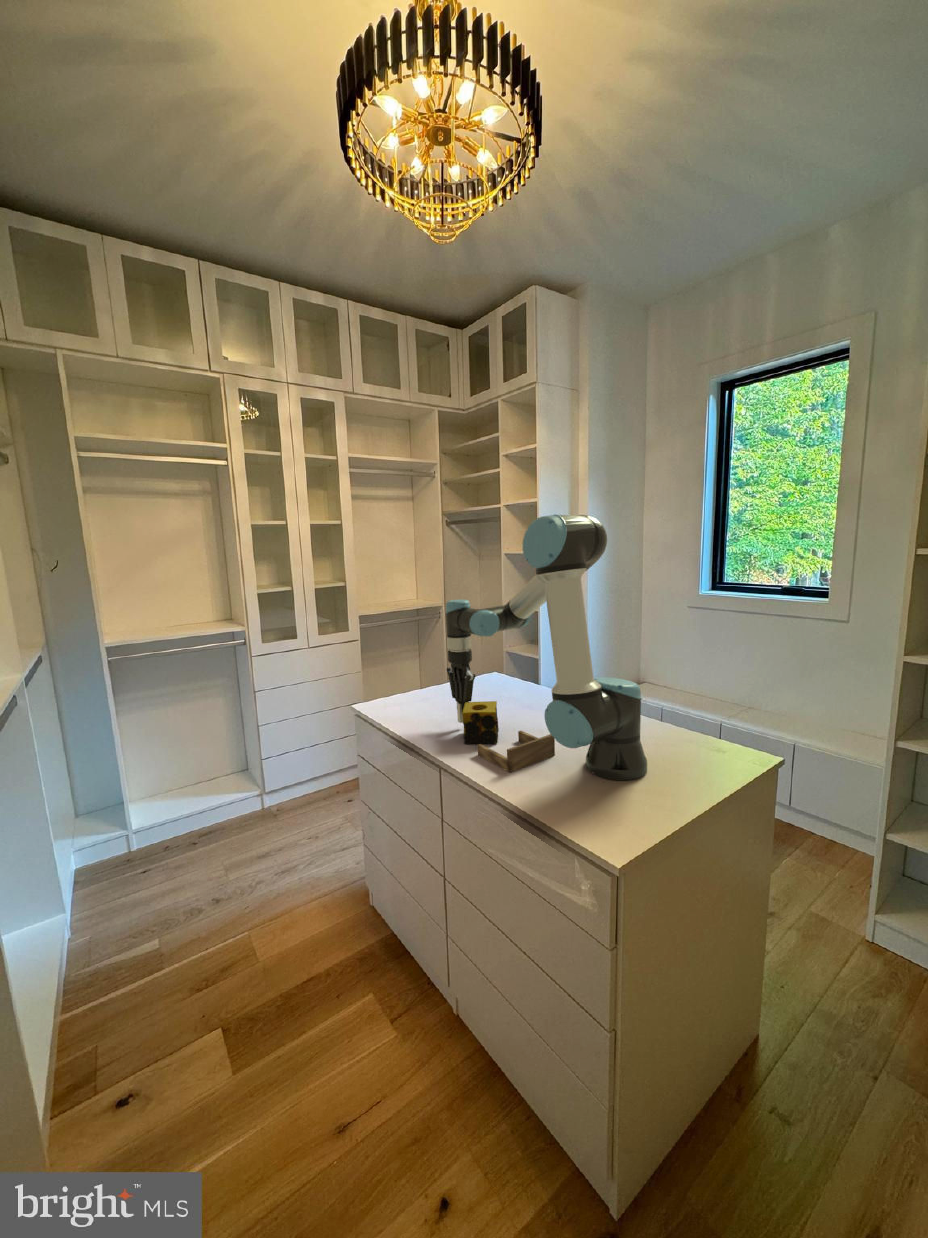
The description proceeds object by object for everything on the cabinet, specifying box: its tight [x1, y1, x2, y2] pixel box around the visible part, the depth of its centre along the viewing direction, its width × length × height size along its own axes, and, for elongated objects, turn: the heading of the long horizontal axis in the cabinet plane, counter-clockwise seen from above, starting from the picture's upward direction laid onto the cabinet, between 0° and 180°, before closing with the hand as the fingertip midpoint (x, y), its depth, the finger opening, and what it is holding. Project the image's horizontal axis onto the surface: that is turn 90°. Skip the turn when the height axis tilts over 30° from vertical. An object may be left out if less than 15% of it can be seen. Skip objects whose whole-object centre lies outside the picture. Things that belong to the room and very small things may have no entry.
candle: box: [462, 700, 500, 745], centre depth 150 cm, size 10×10×10 cm
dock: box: [476, 730, 556, 773], centre depth 137 cm, size 14×16×6 cm
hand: (462, 721), depth 159 cm, fingers closed
